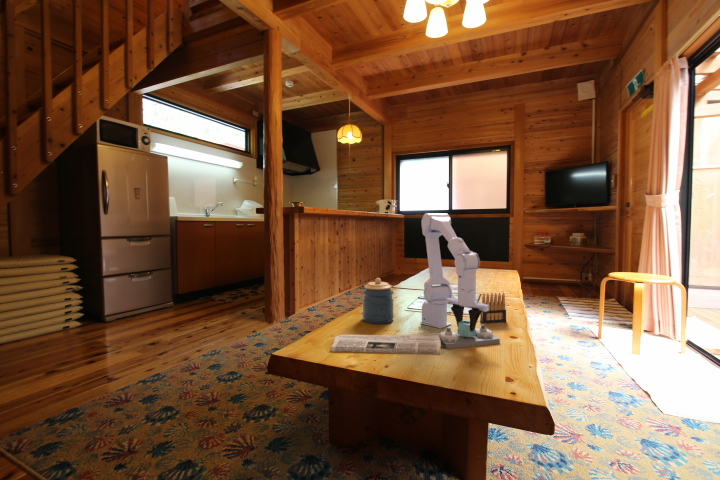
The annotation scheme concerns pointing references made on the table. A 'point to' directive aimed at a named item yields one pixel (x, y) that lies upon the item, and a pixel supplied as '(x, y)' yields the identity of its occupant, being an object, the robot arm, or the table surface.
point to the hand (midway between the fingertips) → (466, 328)
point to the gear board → (467, 338)
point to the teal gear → (465, 329)
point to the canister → (378, 302)
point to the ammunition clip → (494, 309)
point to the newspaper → (388, 343)
